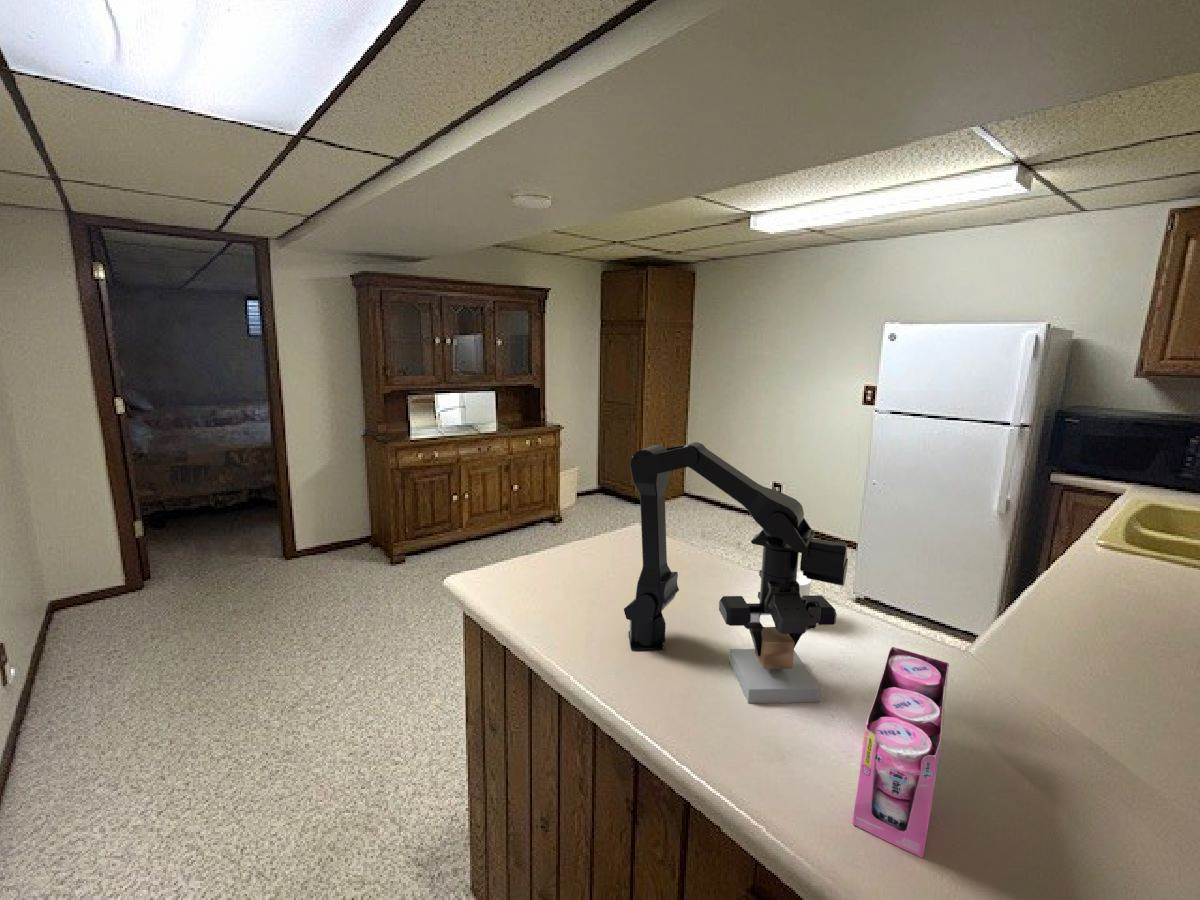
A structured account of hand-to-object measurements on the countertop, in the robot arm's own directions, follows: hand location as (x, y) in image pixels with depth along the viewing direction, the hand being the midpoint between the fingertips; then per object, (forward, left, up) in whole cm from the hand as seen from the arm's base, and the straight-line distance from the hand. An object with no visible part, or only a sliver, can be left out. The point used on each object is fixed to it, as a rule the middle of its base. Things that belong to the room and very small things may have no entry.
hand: (773, 654), depth 93 cm
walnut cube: (0, 0, -1) cm, 1 cm away
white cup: (+11, +21, -5) cm, 24 cm away
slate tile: (0, 0, -5) cm, 5 cm away
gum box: (+10, -23, -5) cm, 25 cm away
